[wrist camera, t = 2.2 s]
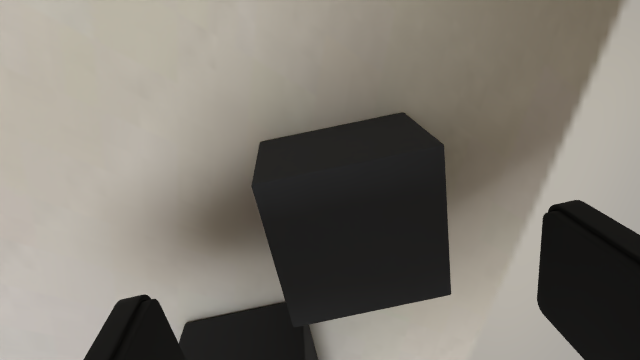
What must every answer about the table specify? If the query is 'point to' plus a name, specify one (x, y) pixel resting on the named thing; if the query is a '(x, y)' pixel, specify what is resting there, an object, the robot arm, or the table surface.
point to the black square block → (248, 337)
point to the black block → (355, 217)
